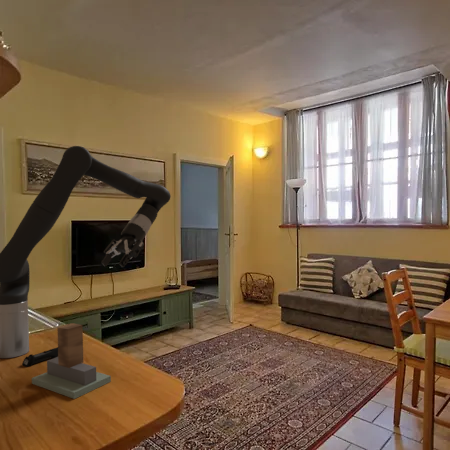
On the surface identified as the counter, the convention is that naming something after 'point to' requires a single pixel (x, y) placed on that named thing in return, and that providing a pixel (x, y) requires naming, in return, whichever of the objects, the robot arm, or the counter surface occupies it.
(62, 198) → the robot arm
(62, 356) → the brown wooden block
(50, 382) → the ridge board
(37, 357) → the electric trimmer
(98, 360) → the counter surface
